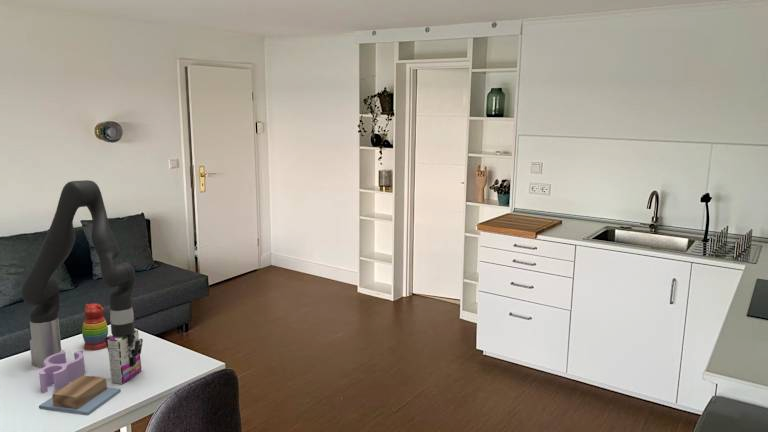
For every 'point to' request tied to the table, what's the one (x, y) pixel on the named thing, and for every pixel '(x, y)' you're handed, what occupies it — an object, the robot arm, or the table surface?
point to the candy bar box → (122, 359)
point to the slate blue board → (87, 407)
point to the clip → (61, 370)
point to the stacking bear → (94, 327)
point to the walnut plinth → (79, 391)
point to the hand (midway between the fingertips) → (125, 365)
